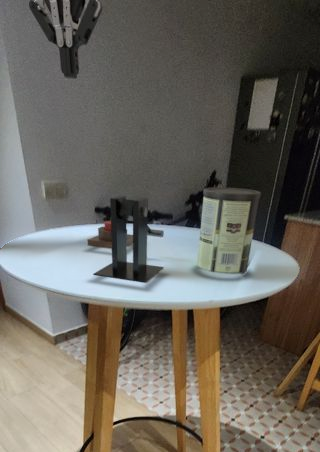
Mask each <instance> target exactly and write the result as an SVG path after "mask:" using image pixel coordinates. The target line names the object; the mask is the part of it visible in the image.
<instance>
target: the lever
mask: <svg viewBox="0 0 320 452" xmlns="http://www.w3.org/2000/svg"><path fill="white" fill-rule="evenodd" d="M133 200H134V199H128V198H126V199H122V201H121V207H120V215H121V216H122V217H123V218H124V219H125V220H126V221H129V222H133ZM164 232H165V231H164V230H162V229H152V228H151V227H150V226H149V225H148V224H147V237H156V238H164V234H165V233H164Z"/></svg>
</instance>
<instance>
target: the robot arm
mask: <svg viewBox="0 0 320 452" xmlns="http://www.w3.org/2000/svg"><path fill="white" fill-rule="evenodd" d="M28 8H29V10H30V11H31V13H32V15H33V17H34V18H35V20H36V22H37V23H38V25H39V26H40V29H41V30H42V32H43V34H44V35H45V37H46V39H47V41H48V42H50V43H52V44H54V45H56V46H57V47H58V51H59V61H60V71H61V73H62V74H63V76H64V78H66V79H68V80H69V79H75V80H76V79H77V78H78V75H79V73H80V64H79V49H80V47H82V46H86V45H88V43H89V40H90V39H91V36H92V34H93V32H94V29H95V28H96V25H97V23H98V20H99V18H100V16H101V14H102V12H103V5H102V3H101V2H100V1H99V0H29V1H28ZM83 11H84V12H83ZM49 13H50V14H51V15H50V16H51V18H52V19H51V18H50V17H49V15H48V14H49ZM82 14H83V15H82ZM51 20H52V21H51Z"/></svg>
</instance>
